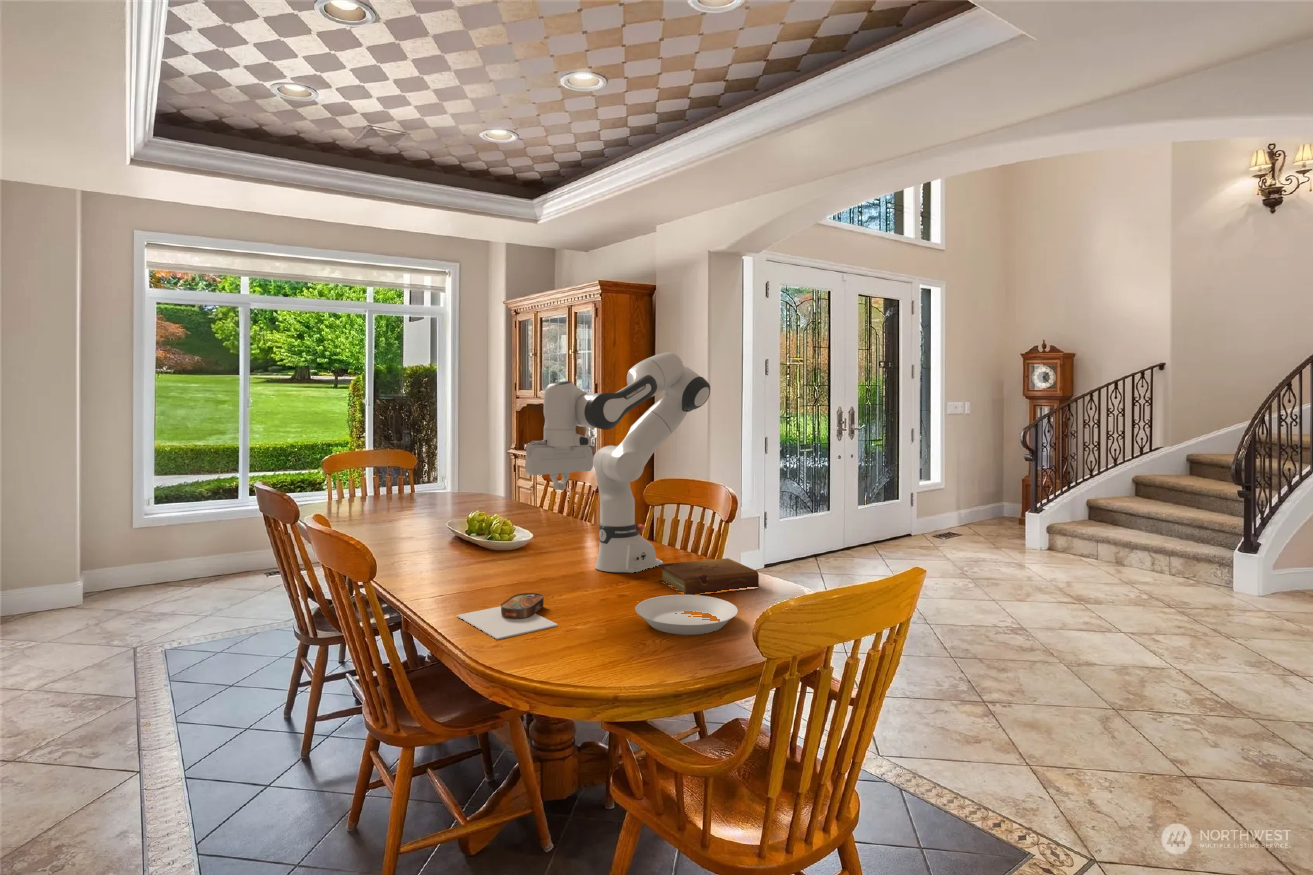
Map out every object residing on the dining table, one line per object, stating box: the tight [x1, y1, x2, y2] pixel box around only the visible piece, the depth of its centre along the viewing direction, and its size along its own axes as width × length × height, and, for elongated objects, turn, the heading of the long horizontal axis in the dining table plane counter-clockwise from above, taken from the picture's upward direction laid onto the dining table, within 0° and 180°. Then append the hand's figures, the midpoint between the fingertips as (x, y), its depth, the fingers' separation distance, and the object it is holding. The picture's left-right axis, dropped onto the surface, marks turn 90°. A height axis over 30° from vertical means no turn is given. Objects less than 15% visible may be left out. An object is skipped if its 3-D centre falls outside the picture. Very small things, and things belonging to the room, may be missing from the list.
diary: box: [659, 557, 760, 595], centre depth 210 cm, size 23×19×6 cm
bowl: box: [634, 594, 739, 636], centre depth 175 cm, size 25×25×4 cm
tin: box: [500, 592, 545, 618], centre depth 183 cm, size 15×3×8 cm
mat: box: [455, 605, 559, 641], centre depth 176 cm, size 16×22×1 cm
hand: (559, 489), depth 200 cm, fingers closed
